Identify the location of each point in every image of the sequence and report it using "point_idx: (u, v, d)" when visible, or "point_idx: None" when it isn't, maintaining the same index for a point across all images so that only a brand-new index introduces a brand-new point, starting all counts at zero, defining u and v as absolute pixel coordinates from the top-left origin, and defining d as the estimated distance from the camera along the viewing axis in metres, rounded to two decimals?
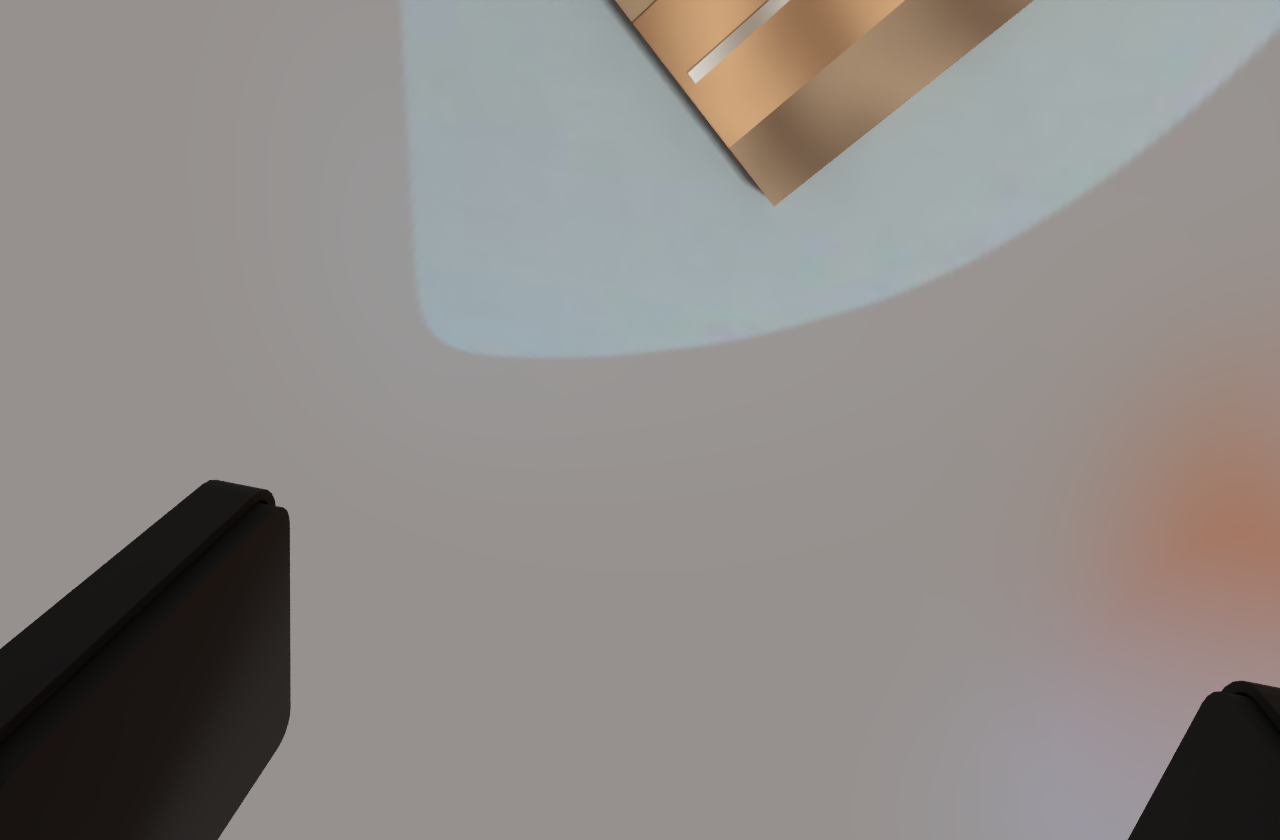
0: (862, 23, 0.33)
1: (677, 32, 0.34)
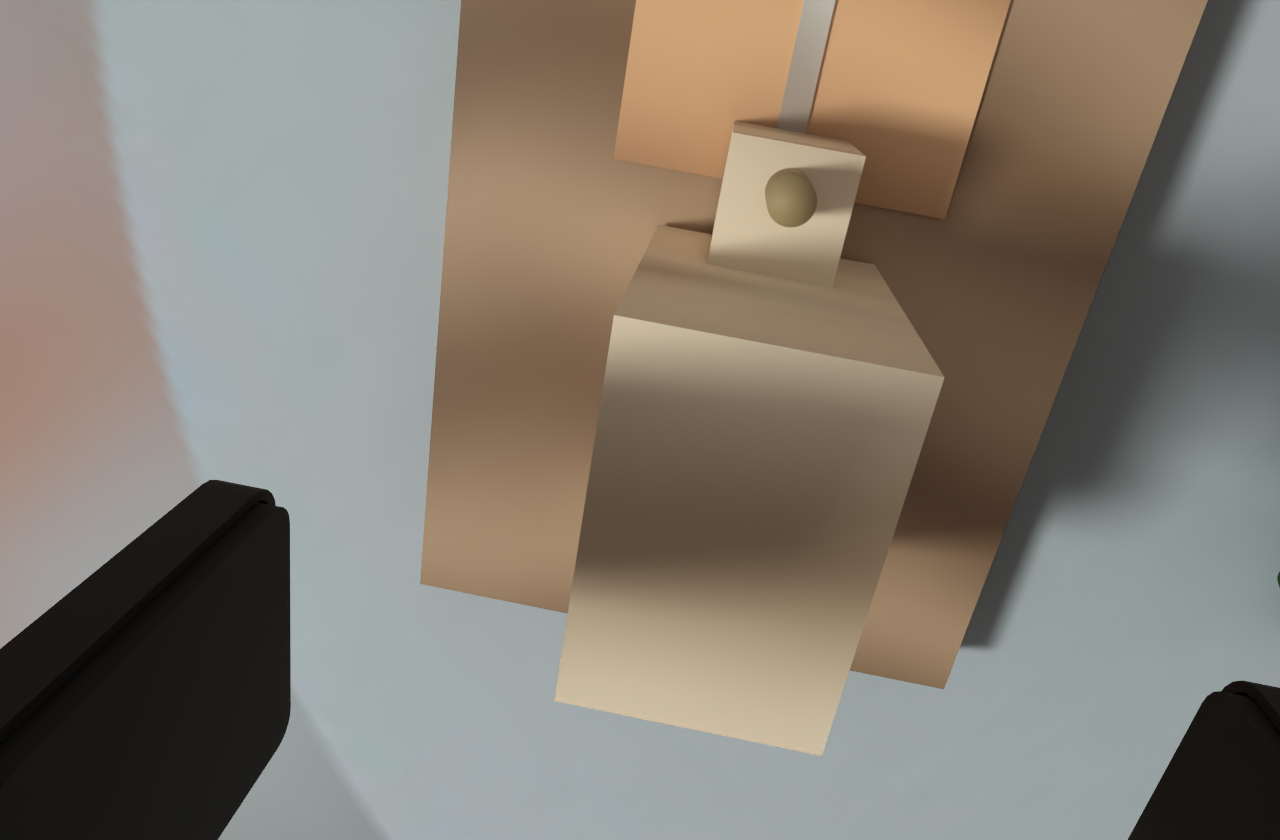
0: None
1: None
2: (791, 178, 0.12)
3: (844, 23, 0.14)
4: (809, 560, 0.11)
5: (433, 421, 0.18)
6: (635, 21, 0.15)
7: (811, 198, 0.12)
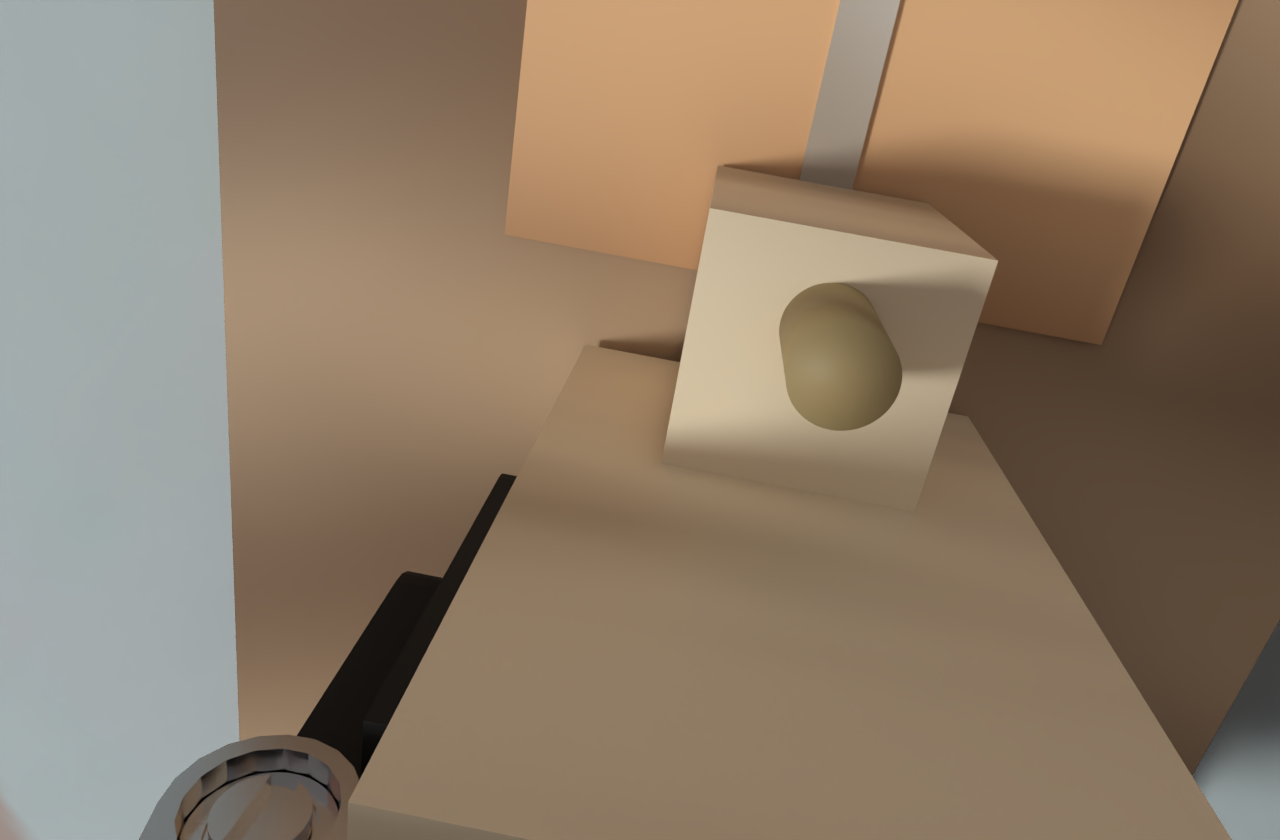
0: None
1: None
2: (843, 327, 0.05)
3: None
4: None
5: (239, 640, 0.11)
6: None
7: (888, 371, 0.05)
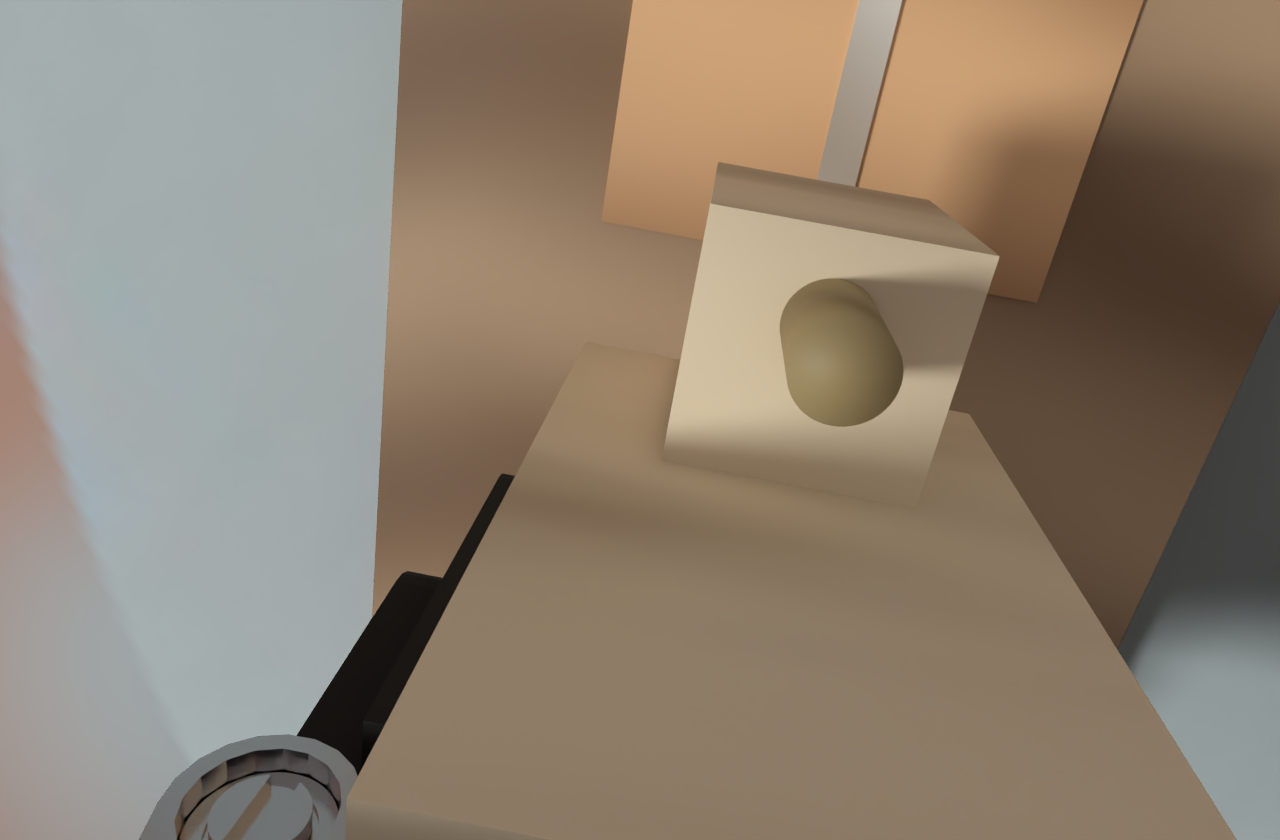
0: None
1: None
2: (845, 323, 0.05)
3: (909, 47, 0.11)
4: None
5: (378, 539, 0.15)
6: (629, 44, 0.11)
7: (890, 366, 0.05)
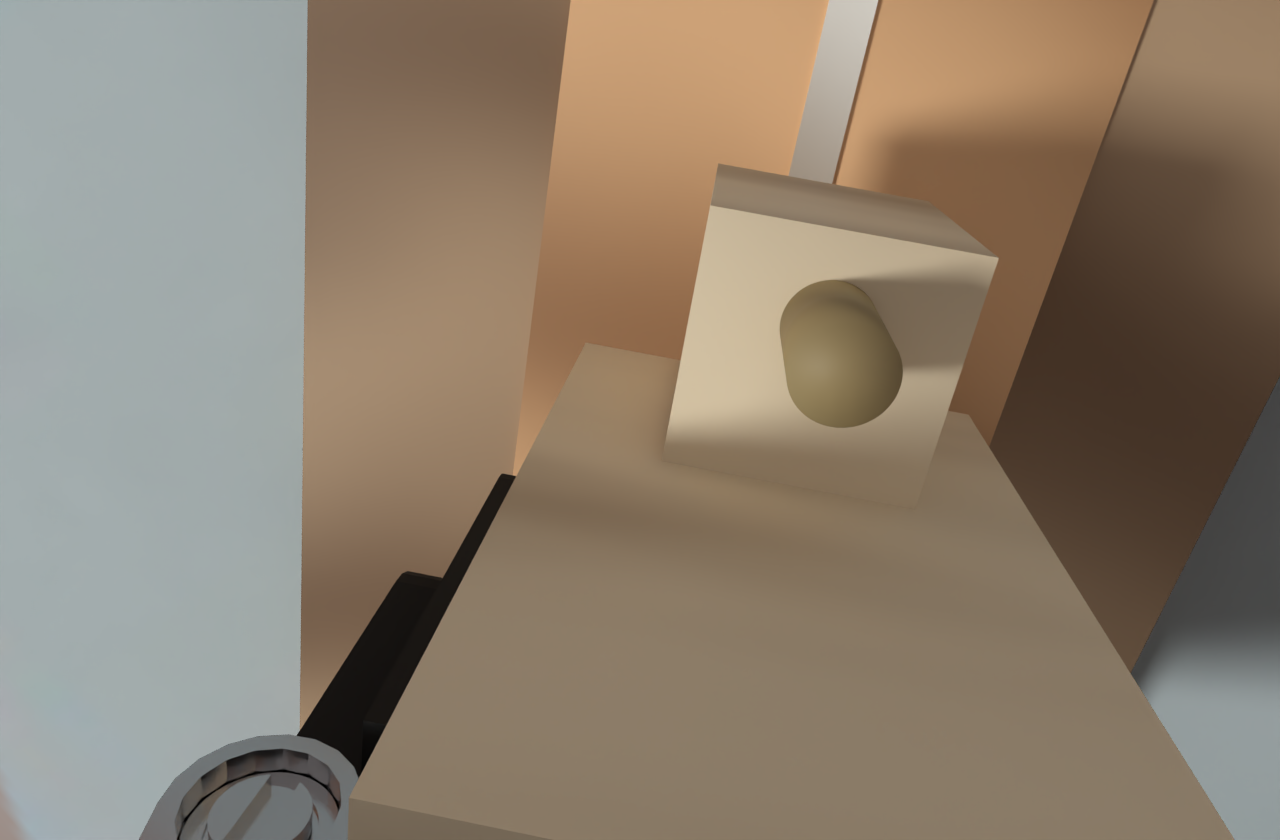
0: None
1: (999, 39, 0.09)
2: (844, 324, 0.05)
3: None
4: None
5: None
6: None
7: (889, 368, 0.05)
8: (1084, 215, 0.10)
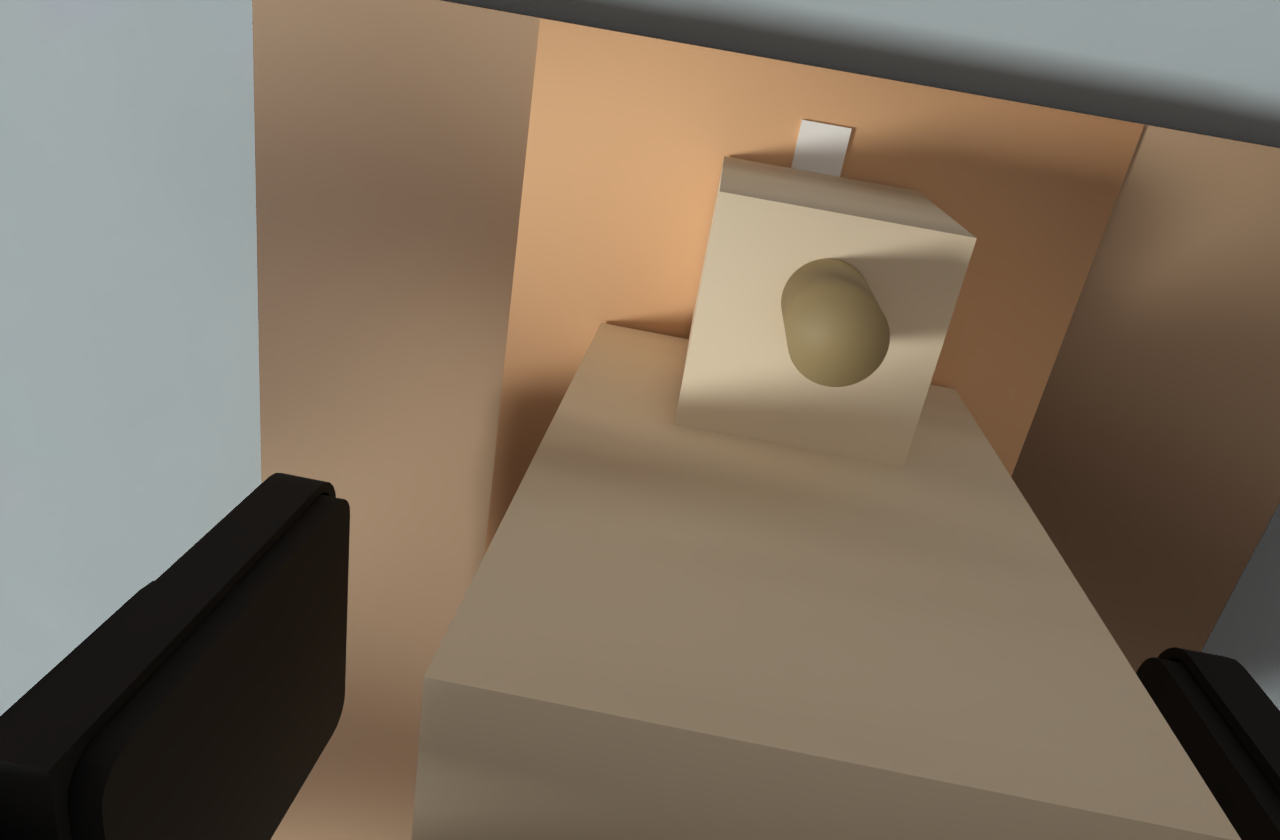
0: None
1: (966, 213, 0.09)
2: (838, 294, 0.06)
3: None
4: None
5: None
6: None
7: (878, 333, 0.06)
8: (1056, 382, 0.10)
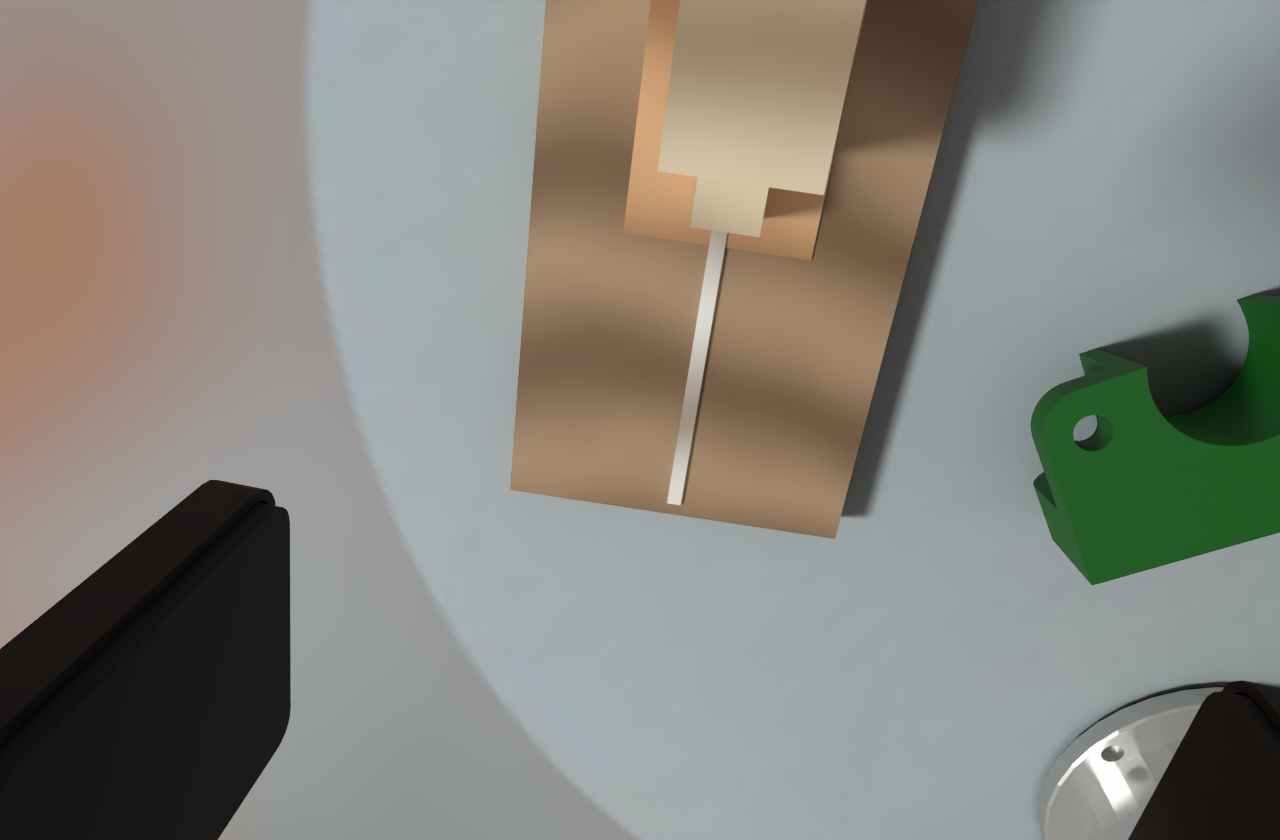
0: (657, 51, 0.25)
1: None
2: None
3: None
4: (813, 44, 0.19)
5: (518, 387, 0.30)
6: (633, 159, 0.27)
7: None
8: None
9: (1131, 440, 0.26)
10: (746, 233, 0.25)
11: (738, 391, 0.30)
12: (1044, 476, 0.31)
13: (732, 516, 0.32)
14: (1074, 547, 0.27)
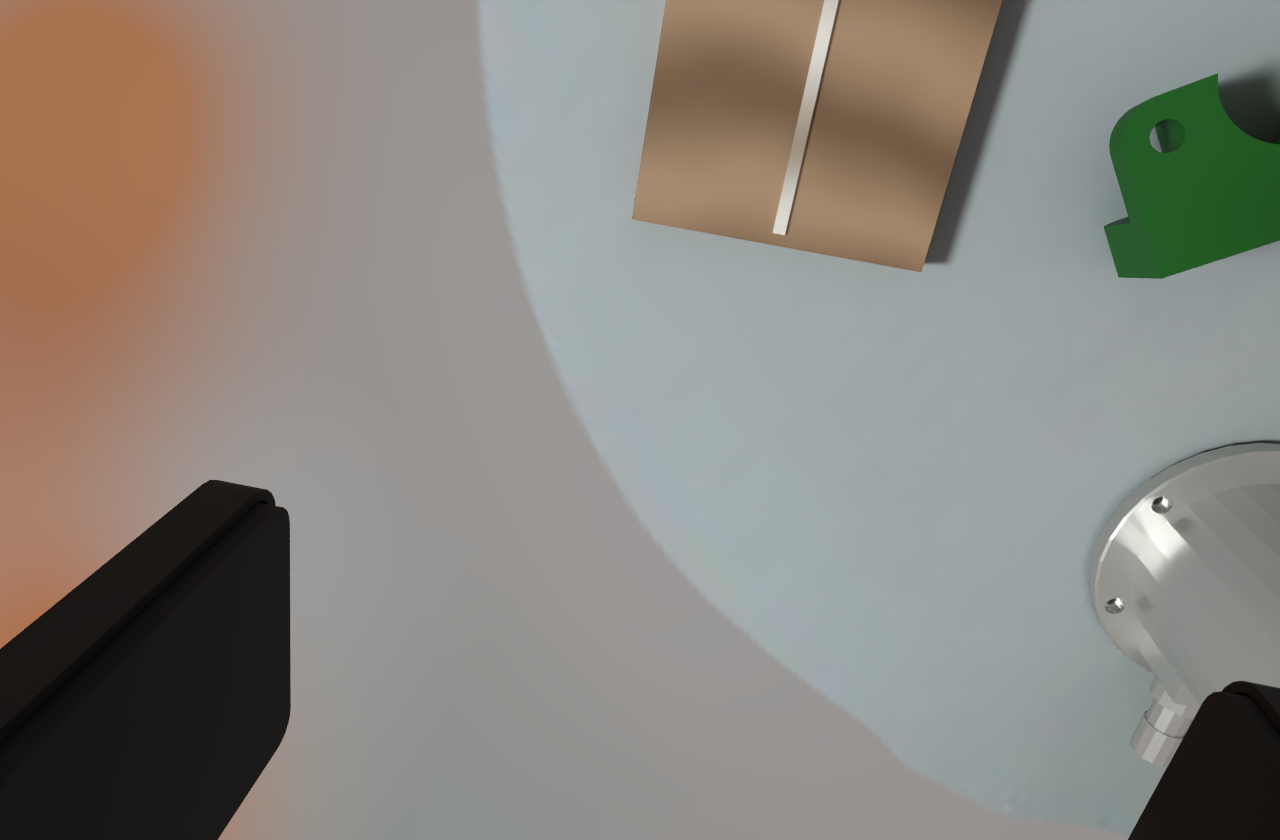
0: None
1: None
2: None
3: None
4: None
5: (649, 115, 0.34)
6: None
7: None
8: None
9: (1201, 141, 0.29)
10: None
11: (845, 120, 0.33)
12: (1113, 222, 0.35)
13: (830, 248, 0.35)
14: (1145, 251, 0.31)
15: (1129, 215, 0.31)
